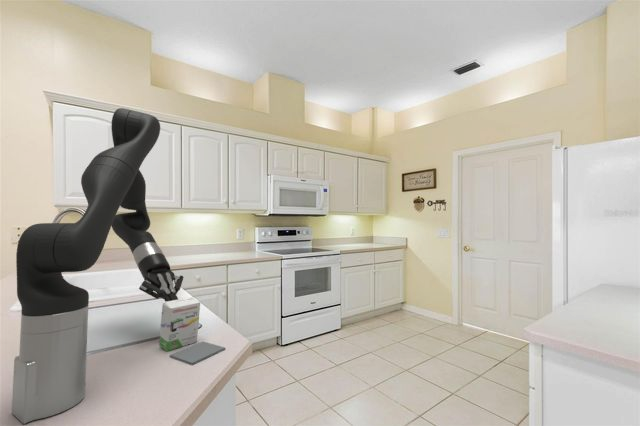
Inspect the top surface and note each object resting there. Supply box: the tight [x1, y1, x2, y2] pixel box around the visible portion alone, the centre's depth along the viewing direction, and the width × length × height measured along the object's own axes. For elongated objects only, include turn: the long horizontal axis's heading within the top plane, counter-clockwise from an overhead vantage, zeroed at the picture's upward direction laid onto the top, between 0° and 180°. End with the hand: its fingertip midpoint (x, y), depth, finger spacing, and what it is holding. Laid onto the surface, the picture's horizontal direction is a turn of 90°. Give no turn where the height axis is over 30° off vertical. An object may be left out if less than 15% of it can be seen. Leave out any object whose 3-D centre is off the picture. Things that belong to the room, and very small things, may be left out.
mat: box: [169, 341, 226, 366], centre depth 74 cm, size 10×9×1 cm
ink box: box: [158, 296, 201, 352], centre depth 80 cm, size 8×5×12 cm, turn 140°
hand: (175, 306), depth 81 cm, fingers closed
